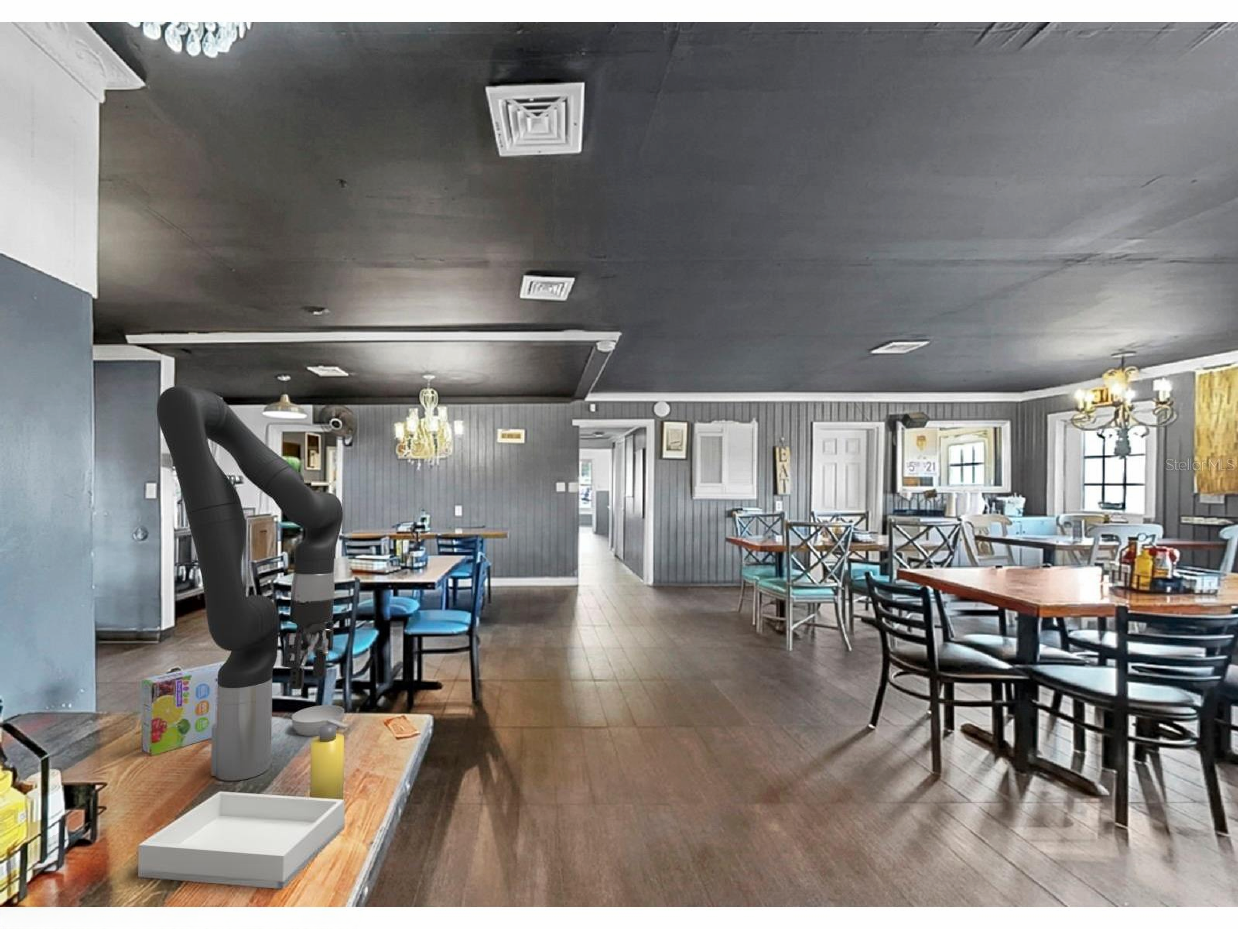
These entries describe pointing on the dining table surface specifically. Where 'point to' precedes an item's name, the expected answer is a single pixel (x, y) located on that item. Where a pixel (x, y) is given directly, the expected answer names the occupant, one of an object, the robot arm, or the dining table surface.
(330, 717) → the small pan
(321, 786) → the squeeze bottle
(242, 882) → the tray
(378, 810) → the dining table surface
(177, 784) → the dining table surface
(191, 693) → the snack box
